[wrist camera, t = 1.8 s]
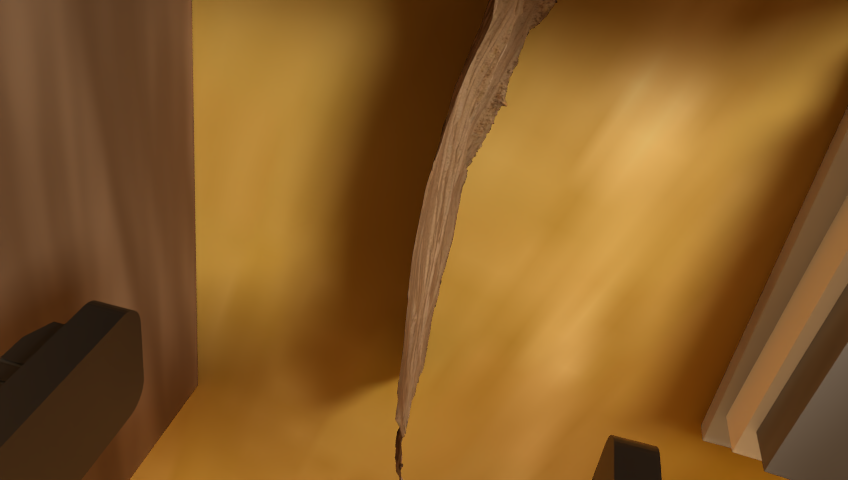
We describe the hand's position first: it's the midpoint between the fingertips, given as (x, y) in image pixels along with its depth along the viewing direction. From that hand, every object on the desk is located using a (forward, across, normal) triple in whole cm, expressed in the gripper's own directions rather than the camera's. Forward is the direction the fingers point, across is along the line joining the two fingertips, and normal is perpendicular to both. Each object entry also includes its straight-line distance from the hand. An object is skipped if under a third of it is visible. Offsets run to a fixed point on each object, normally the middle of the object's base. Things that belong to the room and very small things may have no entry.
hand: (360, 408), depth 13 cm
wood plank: (+11, -1, 0) cm, 11 cm away
